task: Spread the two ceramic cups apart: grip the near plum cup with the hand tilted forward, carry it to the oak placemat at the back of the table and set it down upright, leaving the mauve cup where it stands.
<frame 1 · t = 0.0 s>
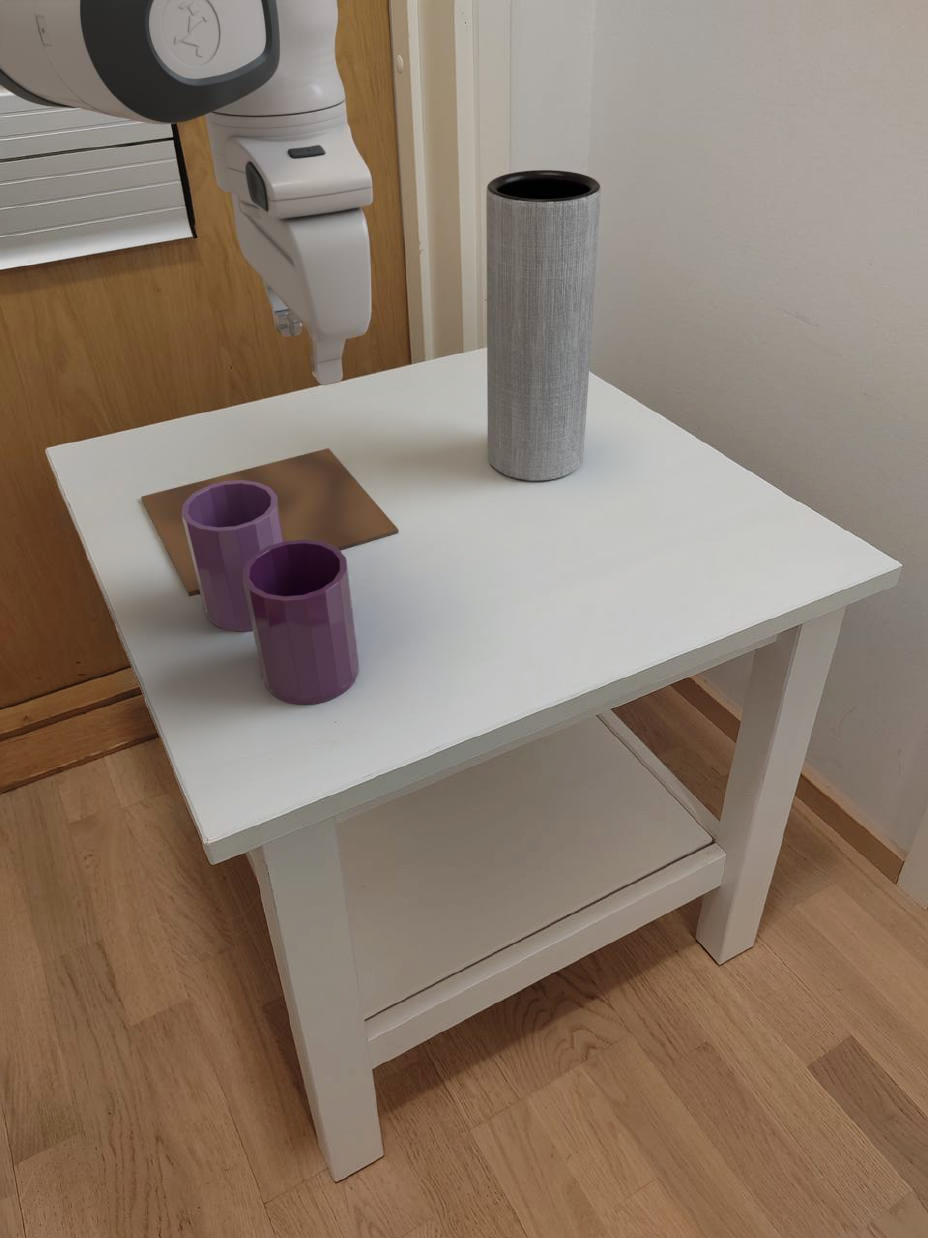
hand: (307, 355, 70), 21 cm above the table, tool pointing down, fingers open, 8 cm apart
vase: (535, 459, 100), on the table
placemat: (266, 515, 92), on the table
mauve cup: (249, 604, 82), on the table
plum cup: (311, 672, 75), on the table
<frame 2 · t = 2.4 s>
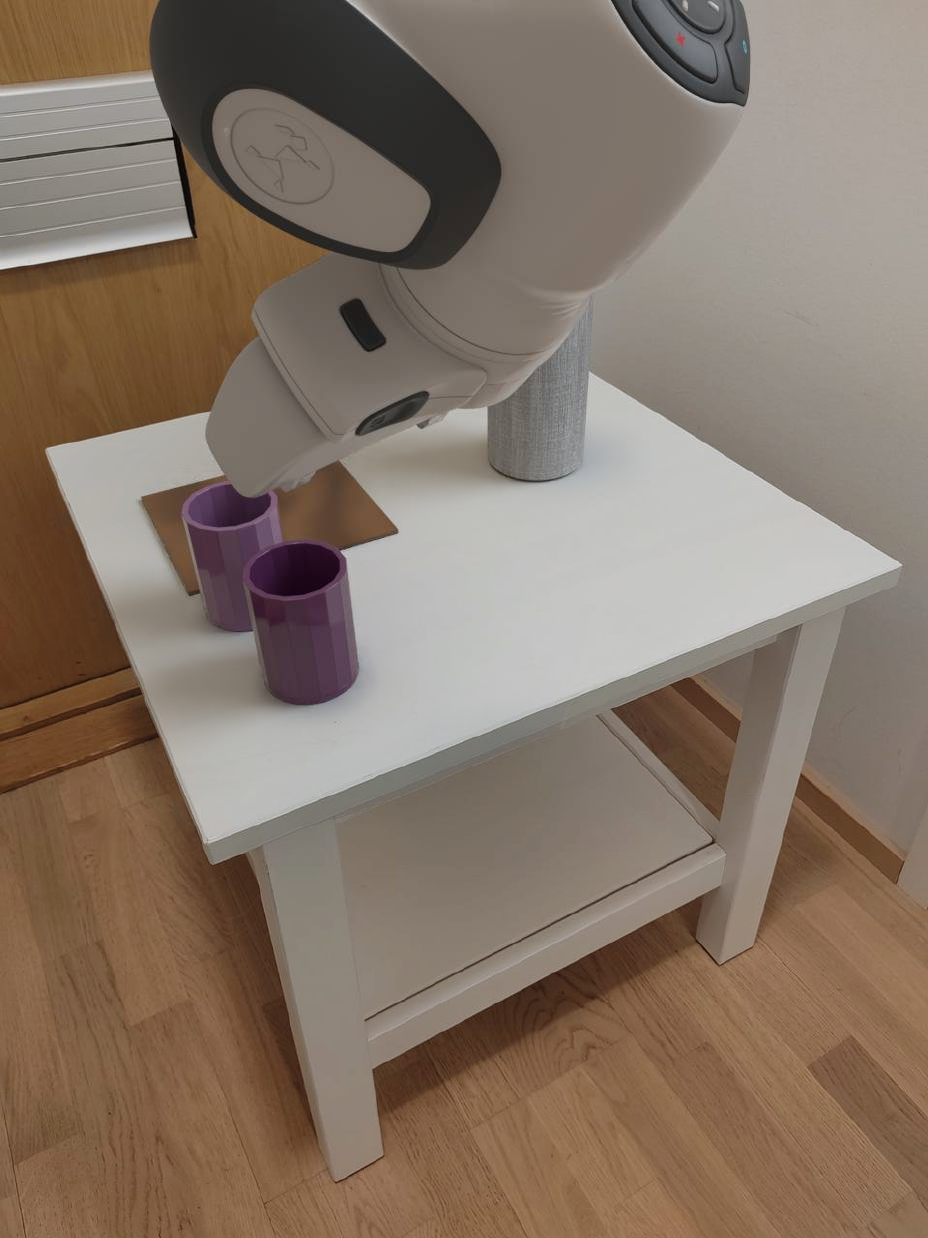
hand: (357, 443, 53), 24 cm above the table, tool tilted 40°, fingers open, 8 cm apart
nothing on the table moved.
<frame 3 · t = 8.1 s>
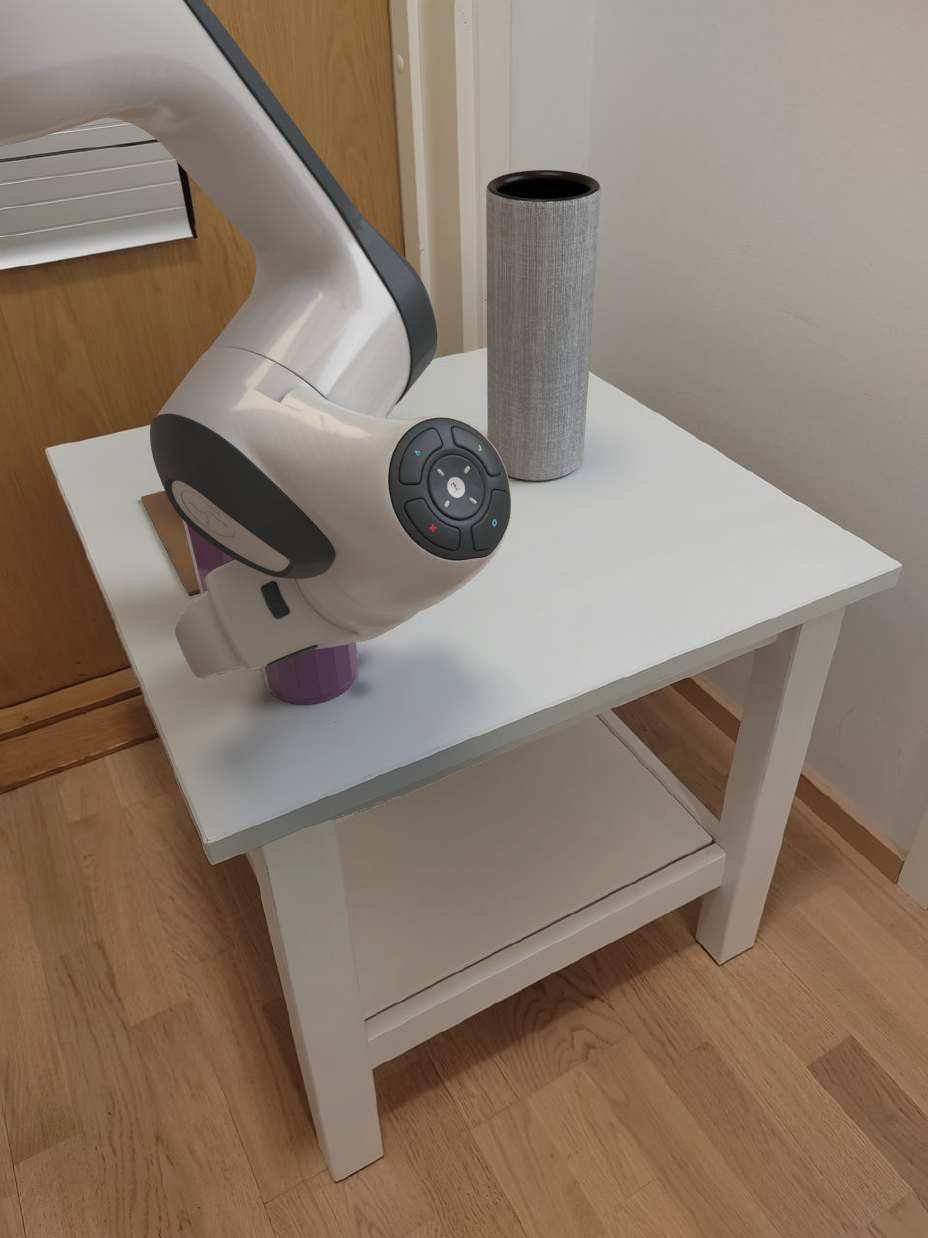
hand: (298, 614, 72), 5 cm above the table, tool tilted 45°, fingers closed on plum cup, 7 cm apart
plum cup: (311, 671, 75), on the table, touching gripper
everything else where it was.
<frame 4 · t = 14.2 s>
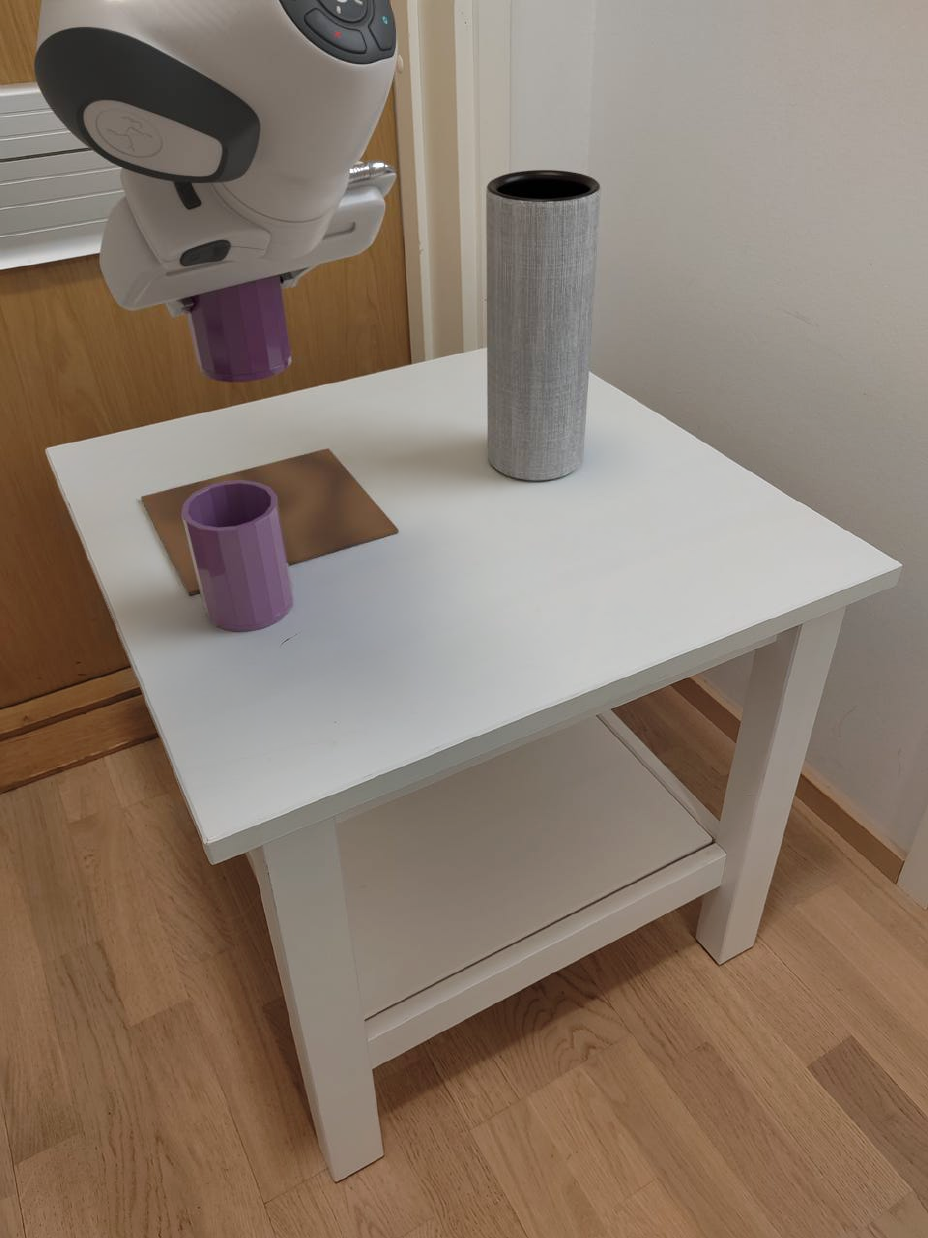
hand: (230, 293, 74), 24 cm above the table, tool tilted 45°, fingers closed on plum cup, 7 cm apart
plum cup: (245, 362, 77), point 18 cm above the table, touching gripper
everything else where it was.
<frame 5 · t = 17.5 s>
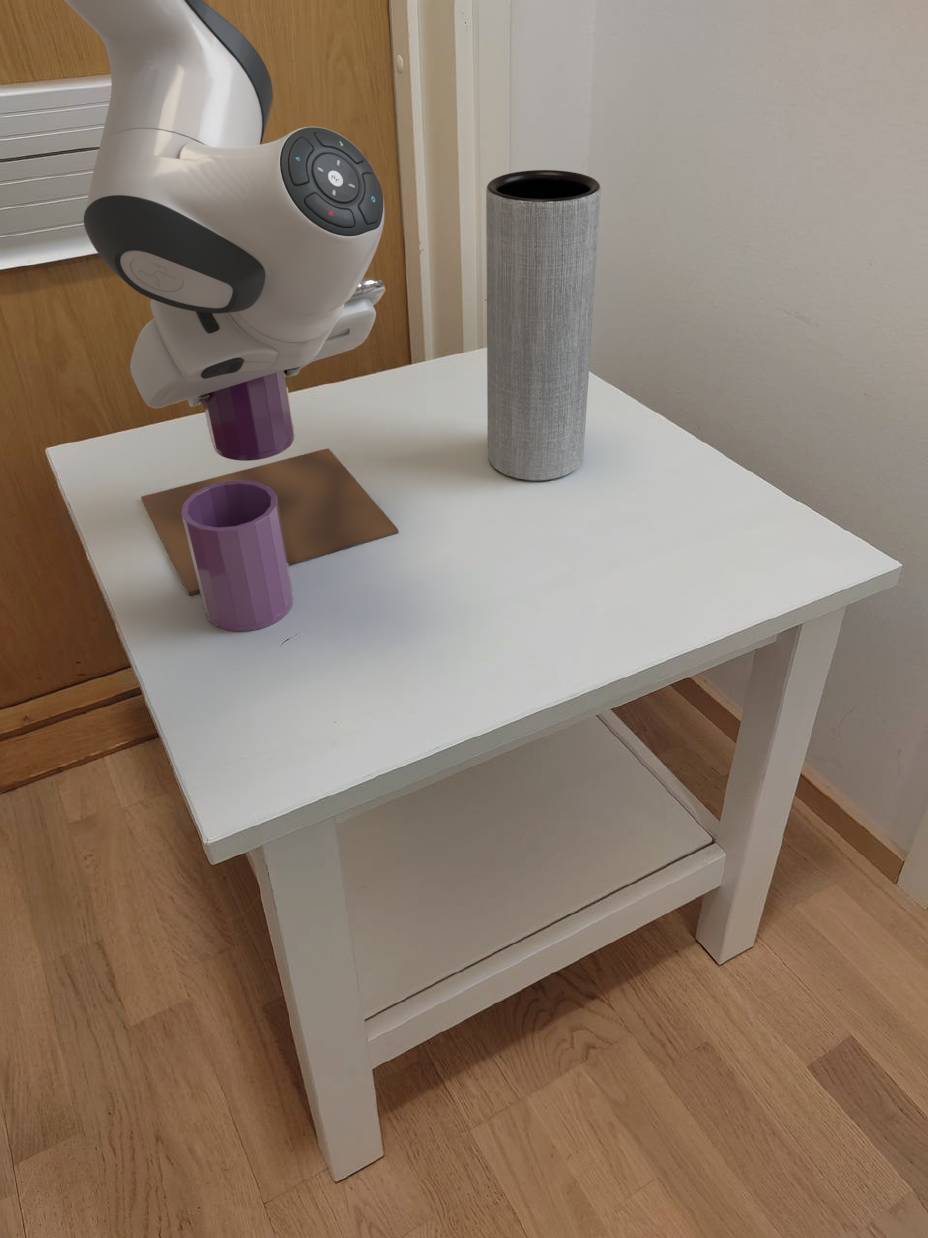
hand: (240, 383, 84), 14 cm above the table, tool tilted 45°, fingers closed on plum cup, 7 cm apart
plum cup: (254, 440, 87), point 8 cm above the table, touching gripper
everything else where it was.
when the fingers open (6 cm above the table, at t = 20.3 s): plum cup stays where it is, resting on placemat.
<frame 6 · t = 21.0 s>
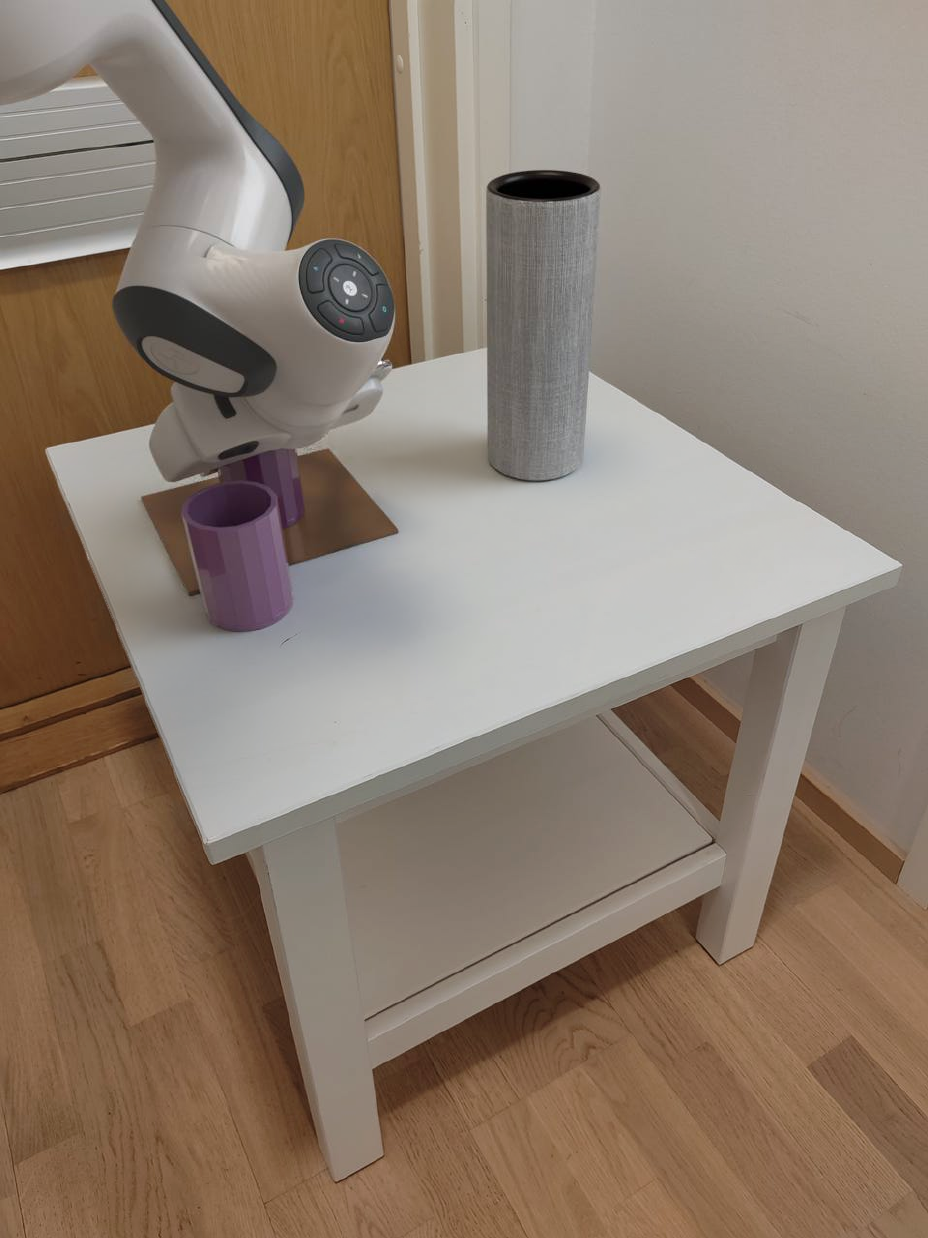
hand: (252, 451, 88), 7 cm above the table, tool tilted 45°, fingers open, 8 cm apart
plum cup: (266, 511, 92), resting on placemat, touching gripper
everything else where it was.
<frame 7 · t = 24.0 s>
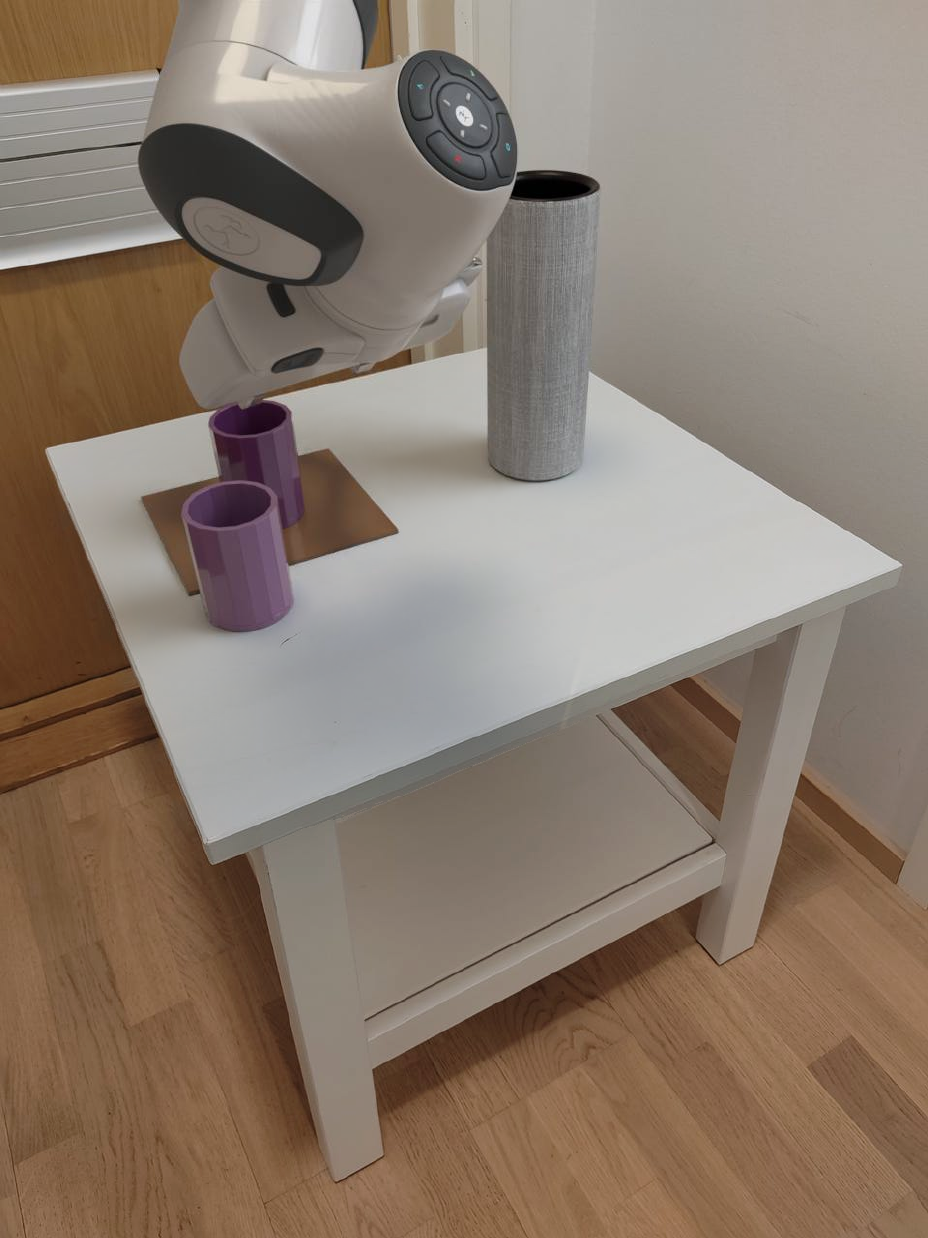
hand: (302, 380, 71), 19 cm above the table, tool tilted 45°, fingers open, 8 cm apart
plum cup: (266, 512, 92), resting on placemat
everything else where it was.
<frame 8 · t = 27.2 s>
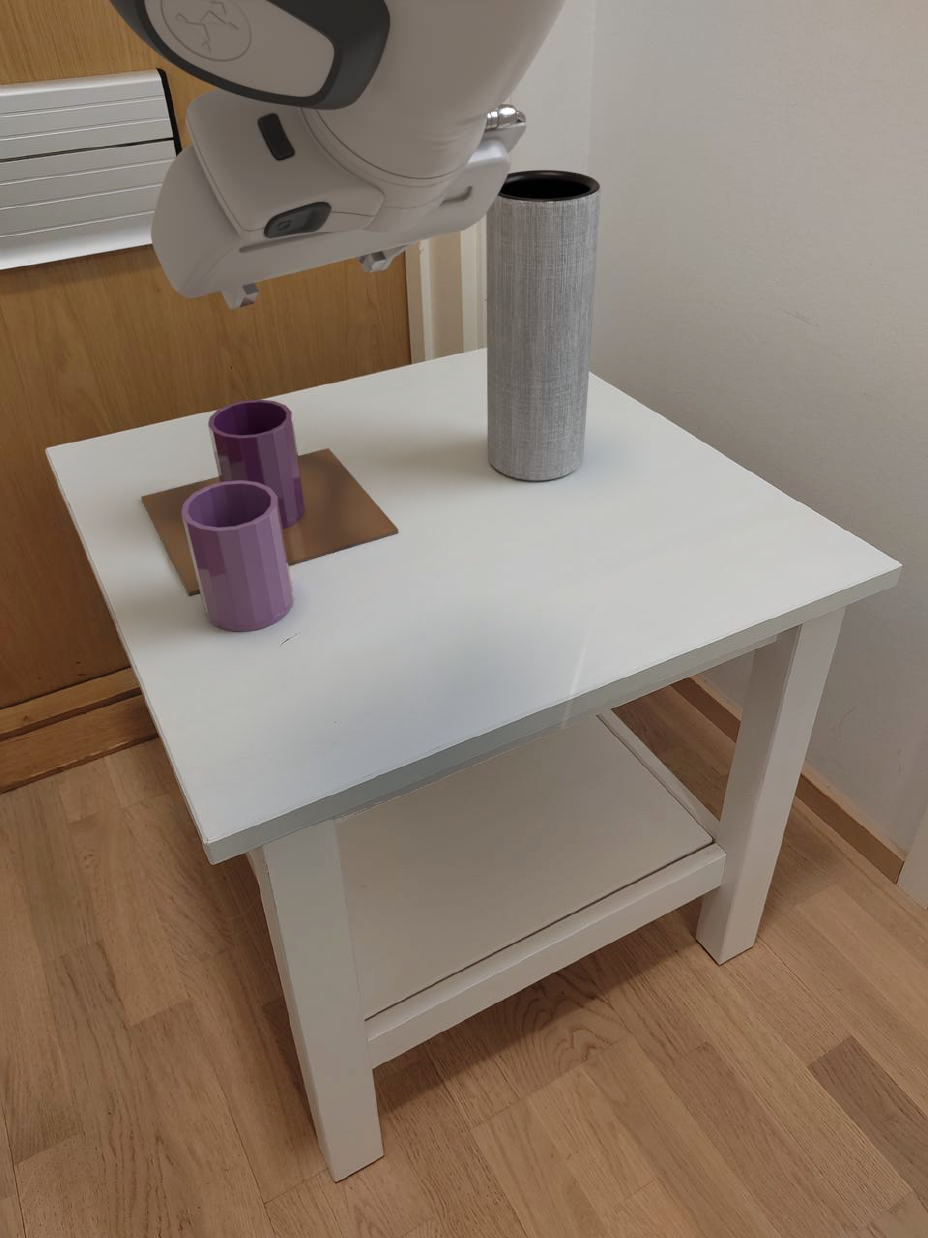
hand: (304, 278, 59), 29 cm above the table, tool tilted 45°, fingers open, 8 cm apart
nothing on the table moved.
at the end: plum cup inside the target area on the placemat (0.1 cm from its centre), point 0.4 cm above the placemat's base; plum cup tilted 0°; mauve cup moved 0.0 cm from its start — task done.
